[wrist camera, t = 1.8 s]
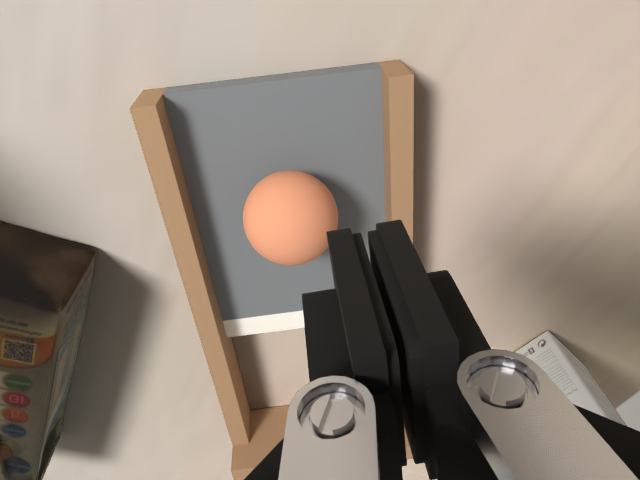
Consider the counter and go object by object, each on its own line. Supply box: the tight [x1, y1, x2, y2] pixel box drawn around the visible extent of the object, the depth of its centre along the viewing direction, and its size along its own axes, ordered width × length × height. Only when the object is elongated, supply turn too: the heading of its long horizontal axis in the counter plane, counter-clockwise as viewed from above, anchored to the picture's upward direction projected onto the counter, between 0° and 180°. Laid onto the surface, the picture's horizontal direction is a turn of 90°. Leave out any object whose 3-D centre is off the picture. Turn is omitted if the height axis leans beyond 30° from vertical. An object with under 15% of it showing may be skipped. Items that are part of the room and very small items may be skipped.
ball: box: [243, 170, 338, 266], centre depth 26 cm, size 5×5×5 cm
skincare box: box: [515, 331, 627, 426], centre depth 35 cm, size 6×4×12 cm
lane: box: [130, 60, 414, 480], centre depth 31 cm, size 27×13×5 cm, turn 5°
